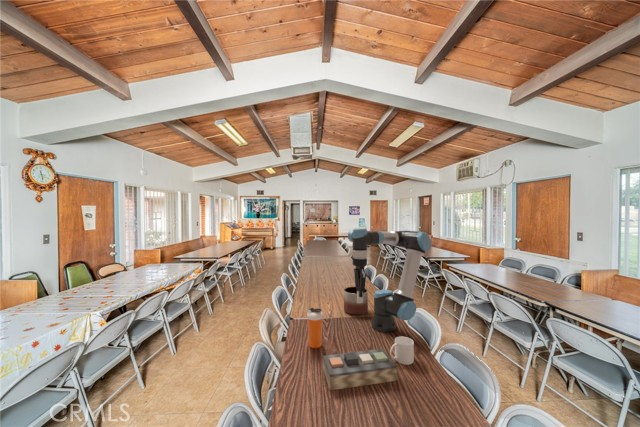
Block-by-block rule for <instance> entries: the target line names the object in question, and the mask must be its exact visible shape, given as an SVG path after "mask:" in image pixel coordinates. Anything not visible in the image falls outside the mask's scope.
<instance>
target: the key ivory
mask: <svg viewBox="0 0 640 427" xmlns="http://www.w3.org/2000/svg"><path fill="white" fill-rule="evenodd" d="M359 360H360V361H361V363H362V364H367V363H373V359H372V357H371V356H370V354H361V355H359Z"/></svg>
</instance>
